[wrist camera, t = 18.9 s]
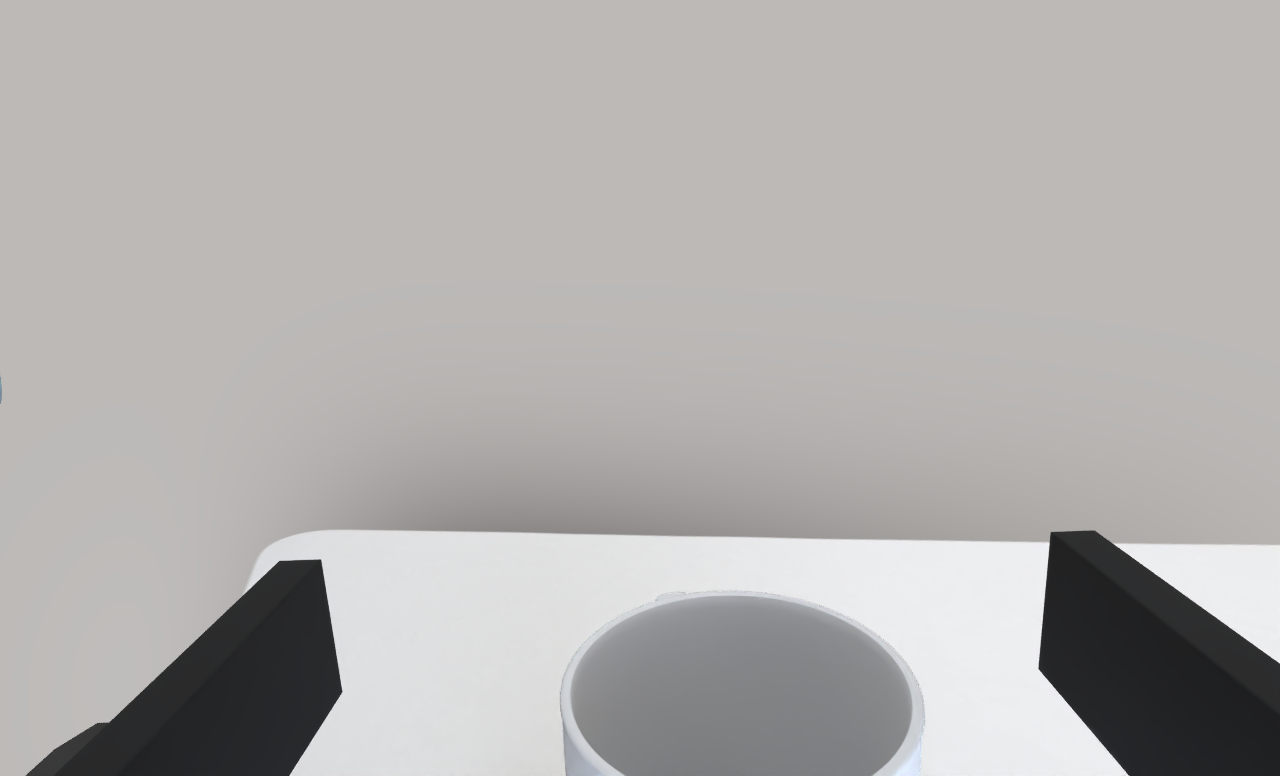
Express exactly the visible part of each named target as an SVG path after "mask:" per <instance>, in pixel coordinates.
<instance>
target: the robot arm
mask: <svg viewBox="0 0 1280 776" xmlns="http://www.w3.org/2000/svg"><path fill="white" fill-rule="evenodd" d="M1 397H2V389H1V378H0V403H1ZM1038 669H1039V670H1040V671H1041V672H1042V674H1043V675H1044V676H1045V677H1046V678H1047V680H1048V681H1049V682H1050V683H1051V684H1052V685H1053V687H1054V688H1055V689H1056V690H1057V691H1058V692H1059V694H1060V695H1061V696H1062V697H1063V698H1064V700H1065V701H1066V702H1067V703H1068V704H1069V705H1070V707H1071V708H1072V709H1073V710H1074V711H1075V712H1076V714H1077V715H1078V716H1079V717H1080V718H1081V720H1082V721H1083V722H1084V723H1085V724H1086V725H1087V727H1088V728H1089V729H1090V730H1091V731H1092V733H1093V734H1094V735H1095V736H1096V737H1097V738H1098V740H1099V741H1100V742H1101V743H1102V744H1103V745H1104V747H1105V748H1106V749H1107V750H1108V751H1109V753H1110V754H1111V755H1112V756H1113V757H1114V758H1115V760H1116V761H1117V762H1118V763H1119V764H1120V765H1121V767H1122V768H1123V769H1124V770H1125V771H1126V773H1127V774H1128V775H1129V776H1280V664H1279V663H1278V662H1277V661H1275V660H1274V659H1272V658H1271V657H1270V656H1268V655H1267V654H1266V653H1264V652H1263V651H1261V650H1260V649H1259V648H1257V647H1256V646H1254V645H1253V644H1252V643H1250V642H1249V641H1247V640H1246V639H1245V638H1243V637H1242V636H1240V635H1239V634H1238V633H1236V632H1235V631H1234V630H1232V629H1231V628H1229V627H1228V626H1227V625H1225V624H1224V623H1222V622H1221V621H1220V620H1218V619H1217V618H1215V617H1214V616H1213V615H1211V614H1210V613H1208V612H1207V611H1206V610H1204V609H1203V608H1202V607H1200V606H1199V605H1197V604H1196V603H1195V602H1193V601H1192V600H1190V599H1189V598H1188V597H1186V596H1185V595H1183V594H1182V593H1181V592H1179V591H1178V590H1176V589H1175V588H1174V587H1172V586H1171V585H1170V584H1168V583H1167V582H1165V581H1164V580H1163V579H1161V578H1160V577H1158V576H1157V575H1156V574H1154V573H1153V572H1151V571H1150V570H1149V569H1147V568H1146V567H1144V566H1143V565H1142V564H1140V563H1139V562H1138V561H1136V560H1135V559H1133V558H1132V557H1131V556H1129V555H1128V554H1126V553H1125V552H1124V551H1122V550H1121V549H1119V548H1118V547H1117V546H1115V545H1114V544H1112V543H1111V542H1110V541H1108V540H1107V539H1105V538H1104V537H1103V536H1101V535H1100V534H1099V533H1097V532H1096V531H1068V532H1051V536H1050V546H1049V557H1048V568H1047V580H1046V591H1045V602H1044V613H1043V624H1042V635H1041V646H1040V657H1039V668H1038ZM341 693H342V687H341V681H340V674H339V668H338V662H337V656H336V650H335V643H334V637H333V631H332V625H331V618H330V612H329V606H328V600H327V593H326V587H325V581H324V575H323V569H322V562H321V559H320V560H294V561H279V562H278V563H277V564H276V565H275V566H274V567H273V568H272V569H271V570H269V571H268V572H267V573H266V574H265V575H264V576H263V577H262V578H261V579H260V580H259V581H258V582H257V583H256V584H255V585H254V586H253V587H252V588H251V589H249V590H248V591H247V592H246V593H245V594H244V595H243V596H242V597H241V598H240V599H239V600H238V601H237V602H236V603H235V604H234V605H233V606H232V607H230V608H229V609H228V610H227V611H226V612H225V613H224V614H223V615H222V616H221V617H220V618H219V619H218V620H217V621H216V622H215V623H214V624H213V625H212V626H211V627H210V628H208V629H207V630H206V631H205V632H204V633H203V634H202V635H201V636H200V637H199V638H198V639H197V640H196V641H195V642H194V643H193V644H192V645H191V646H189V648H187V649H186V650H185V651H184V652H183V653H182V654H181V655H180V656H179V657H178V658H177V659H176V660H175V661H174V662H173V663H172V664H171V665H169V666H168V667H167V668H166V669H165V670H164V671H163V672H162V673H161V674H160V675H159V676H158V677H157V678H156V679H155V680H154V681H153V682H151V683H150V684H149V685H148V686H147V687H146V688H145V689H144V690H143V691H142V692H141V693H140V694H139V695H138V696H137V697H136V698H135V699H134V700H133V701H132V702H130V703H129V704H128V705H127V706H126V707H125V708H124V709H123V710H122V711H121V712H120V713H119V714H118V715H117V716H116V717H115V718H114V719H112V720H111V721H110V722H109V723H97V724H95V725H94V726H92V727H90V728H89V729H87V730H85V731H84V732H82V733H80V734H79V735H77V736H76V737H74V738H72V739H71V740H69V741H67V742H66V743H64V744H63V745H61V746H59V747H58V748H56V749H54V750H53V752H51V753H50V754H49V755H48V756H47V757H46V758H45V759H43V760H42V761H41V762H40V763H39V764H38V765H37V766H36V767H35V768H34V769H32V770H31V771H30V772H29V773H28V774H27V775H26V776H289V775H290V774H291V772H292V770H293V769H294V767H295V766H296V764H297V763H298V761H299V759H300V758H301V756H302V755H303V753H304V752H305V750H306V748H307V747H308V745H309V744H310V742H311V741H312V739H313V737H314V736H315V734H316V733H317V731H318V730H319V728H320V726H321V725H322V723H323V722H324V720H325V719H326V717H327V715H328V714H329V712H330V711H331V709H332V708H333V706H334V704H335V703H336V701H337V700H338V698H339V697H340V695H341Z"/></svg>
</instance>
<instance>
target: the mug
mask: <svg viewBox="0 0 1280 776" xmlns="http://www.w3.org/2000/svg"><path fill="white" fill-rule="evenodd" d="M560 710H561V716H562V724H563V741H564V757H565V769H566V776H920V766H921V742H922V734H923V730H924V723H925V708H924V701H923V696H922V693H921V689H920V687H919V684H918V682H917V680H916V678H915V676H914V674H913V672H912V671H911V669H910V667H909V666H908V665H907V663H906V662H905V661H904V659H903V658H902V657H901V656H900V655H899V654H898V653H897V652H896V650H895V649H894V648H893V647H891V646H890V645H889V644H888V643H887V642H886V641H885V640H884V639H882V638H881V637H880V636H878V635H877V634H876V633H874V632H873V631H872V630H870V629H868V628H867V627H865V626H864V625H862V624H860V623H859V622H857V621H855V620H853V619H851V618H849V617H847V616H845V615H843V614H841V613H838V612H836V611H834V610H831V609H829V608H826V607H823V606H820V605H817V604H814V603H811V602H808V601H804V600H800V599H796V598H792V597H787V596H782V595H776V594H769V593H761V592H751V591H707V592H696V593H689V594H686V593H684V592H671V593H666V594H662V595H660V596H659V597H657V599H656V600H655V602H651V603H648V604H646V605H643V606H640V607H638V608H635V609H633V610H631V611H629V612H627V613H625V614H623V615H621V616H619V617H617V618H615V619H614V620H612V621H610V622H609V623H607V624H606V625H604V626H603V627H601V628H600V629H599V630H598V631H596V632H595V633H594V634H593V635H592V636H591V637H589V638H588V639H587V640H586V641H585V642H584V644H583V645H582V646H581V647H580V648H579V649H578V651H577V652H576V653H575V655H574V656H573V658H572V659H571V661H570V663H569V665H568V667H567V669H566V671H565V674H564V677H563V680H562V685H561V691H560Z"/></svg>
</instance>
